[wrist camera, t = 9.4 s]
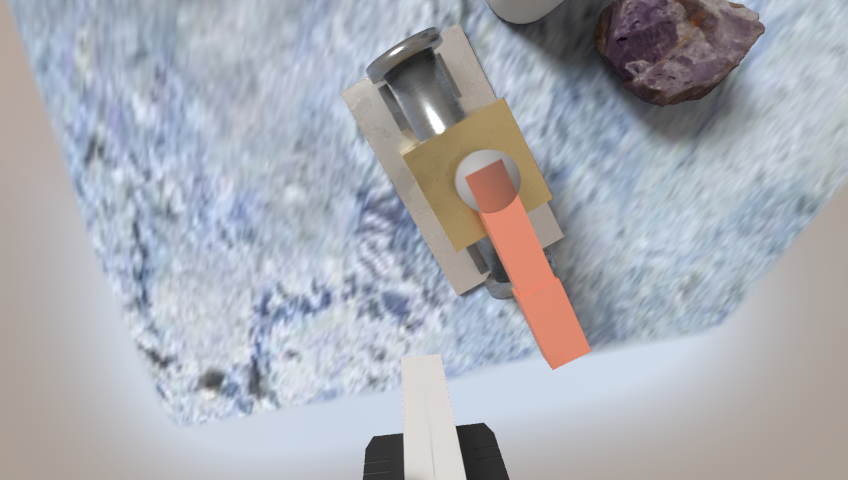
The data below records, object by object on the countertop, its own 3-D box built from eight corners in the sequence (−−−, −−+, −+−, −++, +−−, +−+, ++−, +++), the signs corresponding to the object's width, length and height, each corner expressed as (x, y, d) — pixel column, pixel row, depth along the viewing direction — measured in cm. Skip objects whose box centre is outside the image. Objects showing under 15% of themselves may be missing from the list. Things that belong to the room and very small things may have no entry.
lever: (444, 166, 29) (448, 168, 27) (498, 138, 29) (506, 138, 27) (537, 359, 33) (546, 373, 31) (585, 335, 32) (597, 347, 30)
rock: (593, -1, 40) (581, 112, 42) (627, -42, 32) (611, 101, 34) (725, 0, 39) (707, 115, 41) (797, -42, 31) (770, 105, 33)
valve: (457, 25, 39) (486, -26, 27) (560, 234, 44) (623, 269, 32) (341, 94, 39) (319, 73, 27) (456, 292, 44) (479, 348, 32)
